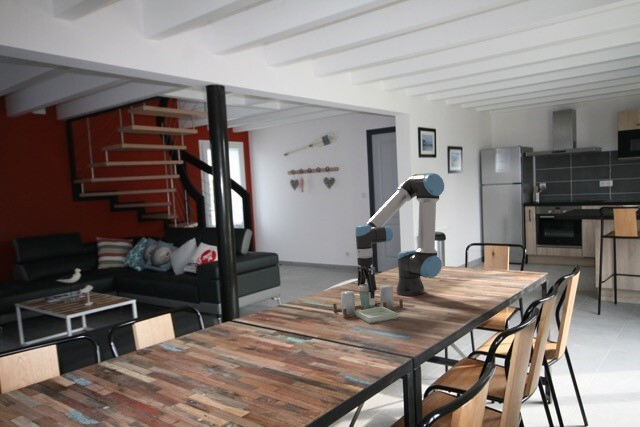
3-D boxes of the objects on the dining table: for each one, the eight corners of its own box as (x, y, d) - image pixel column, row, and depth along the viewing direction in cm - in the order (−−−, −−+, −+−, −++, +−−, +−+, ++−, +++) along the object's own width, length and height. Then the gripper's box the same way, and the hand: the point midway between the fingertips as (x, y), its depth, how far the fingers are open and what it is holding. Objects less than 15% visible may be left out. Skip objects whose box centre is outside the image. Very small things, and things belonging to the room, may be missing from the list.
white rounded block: (389, 304, 242) (388, 284, 241) (396, 306, 236) (394, 286, 235) (378, 305, 239) (377, 286, 239) (384, 308, 233) (383, 288, 233)
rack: (389, 301, 246) (389, 294, 245) (403, 307, 233) (403, 299, 233) (333, 311, 235) (332, 303, 234) (344, 318, 222) (343, 309, 222)
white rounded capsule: (351, 310, 234) (350, 290, 234) (357, 313, 228) (356, 292, 228) (340, 312, 232) (338, 292, 231) (345, 315, 226) (344, 294, 225)
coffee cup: (371, 312, 228) (369, 287, 227) (356, 310, 233) (354, 286, 232) (380, 308, 235) (378, 284, 234) (365, 306, 240) (363, 283, 239)
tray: (382, 311, 229) (382, 306, 228) (397, 318, 216) (396, 312, 215) (355, 316, 224) (355, 310, 224) (369, 323, 211) (369, 317, 210)
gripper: (348, 255, 241) (351, 299, 242) (367, 260, 221) (370, 308, 222) (362, 253, 243) (365, 297, 245) (382, 258, 224) (385, 306, 225)
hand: (367, 302), depth 234 cm, fingers closed on coffee cup, 9 cm apart
